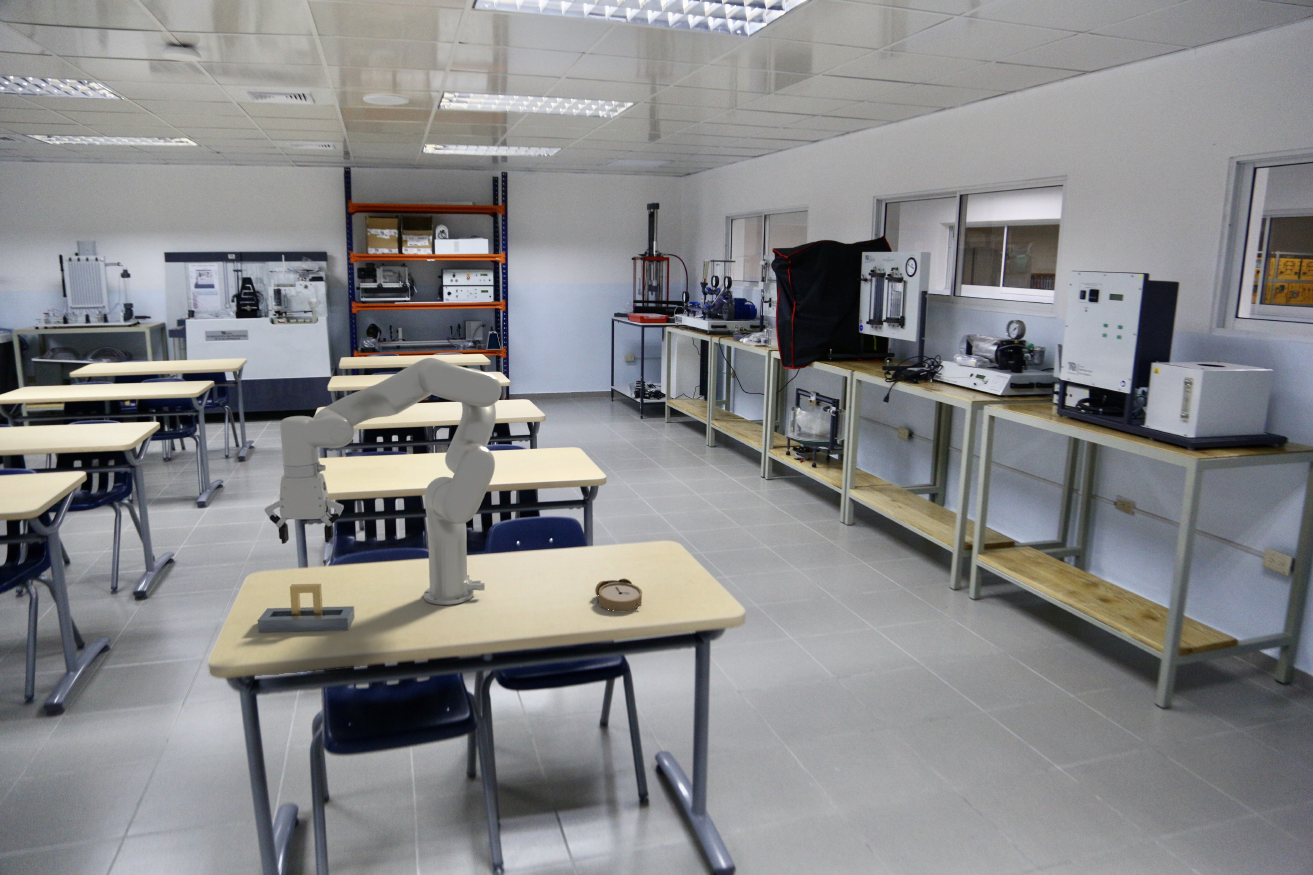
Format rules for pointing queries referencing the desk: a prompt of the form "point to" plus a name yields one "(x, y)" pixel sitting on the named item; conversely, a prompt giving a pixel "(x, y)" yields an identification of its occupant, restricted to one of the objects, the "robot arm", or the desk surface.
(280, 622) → the rail
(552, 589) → the desk surface
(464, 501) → the robot arm
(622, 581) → the alarm clock
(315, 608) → the wooden u-shaped block
